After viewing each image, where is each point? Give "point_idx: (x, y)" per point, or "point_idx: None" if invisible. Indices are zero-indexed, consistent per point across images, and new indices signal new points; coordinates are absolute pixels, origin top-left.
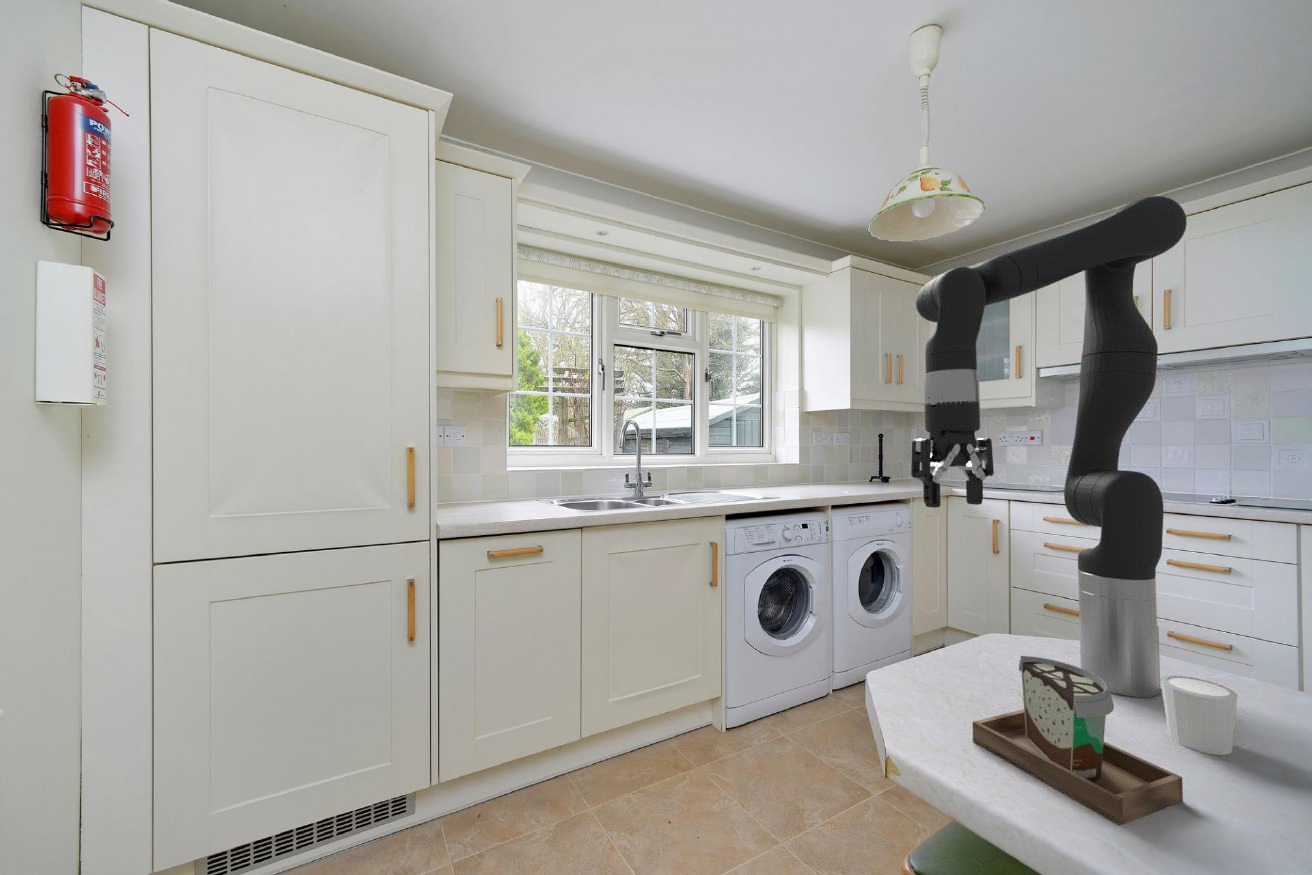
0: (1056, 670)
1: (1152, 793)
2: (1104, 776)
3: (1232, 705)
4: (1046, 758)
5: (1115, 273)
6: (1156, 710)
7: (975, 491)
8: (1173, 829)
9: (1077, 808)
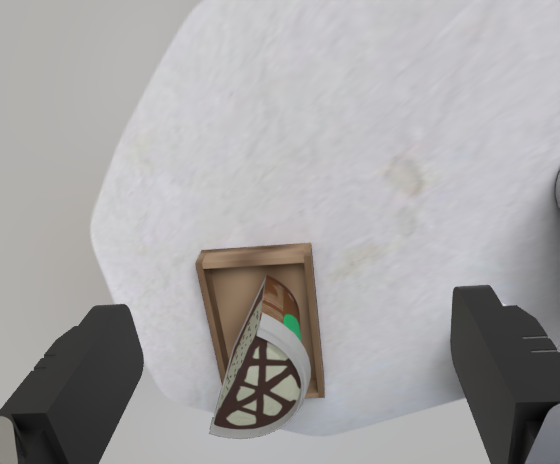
0: (284, 361)
1: None
2: None
3: None
4: (218, 342)
5: None
6: (547, 259)
7: (474, 402)
8: None
9: (214, 359)
